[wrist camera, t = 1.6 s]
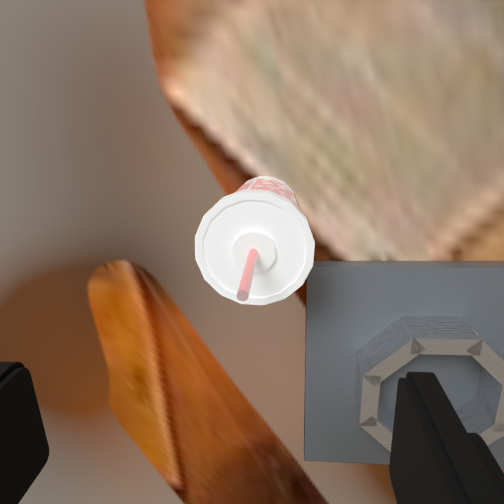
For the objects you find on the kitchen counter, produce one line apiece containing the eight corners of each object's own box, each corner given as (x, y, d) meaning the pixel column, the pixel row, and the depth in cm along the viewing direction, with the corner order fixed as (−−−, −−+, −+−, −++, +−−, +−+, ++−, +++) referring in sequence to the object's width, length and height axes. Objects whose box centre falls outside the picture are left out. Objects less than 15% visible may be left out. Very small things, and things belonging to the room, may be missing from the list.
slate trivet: (306, 260, 30) (307, 267, 29) (567, 261, 28) (579, 268, 27) (303, 449, 36) (304, 460, 35) (518, 459, 34) (525, 471, 33)
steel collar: (358, 314, 30) (365, 336, 27) (509, 317, 28) (533, 340, 26) (351, 427, 33) (356, 457, 30) (485, 433, 32) (503, 464, 29)
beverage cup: (230, 253, 30) (184, 368, 17) (214, 172, 28) (147, 231, 15) (313, 243, 29) (330, 355, 16) (302, 158, 27) (312, 207, 14)
